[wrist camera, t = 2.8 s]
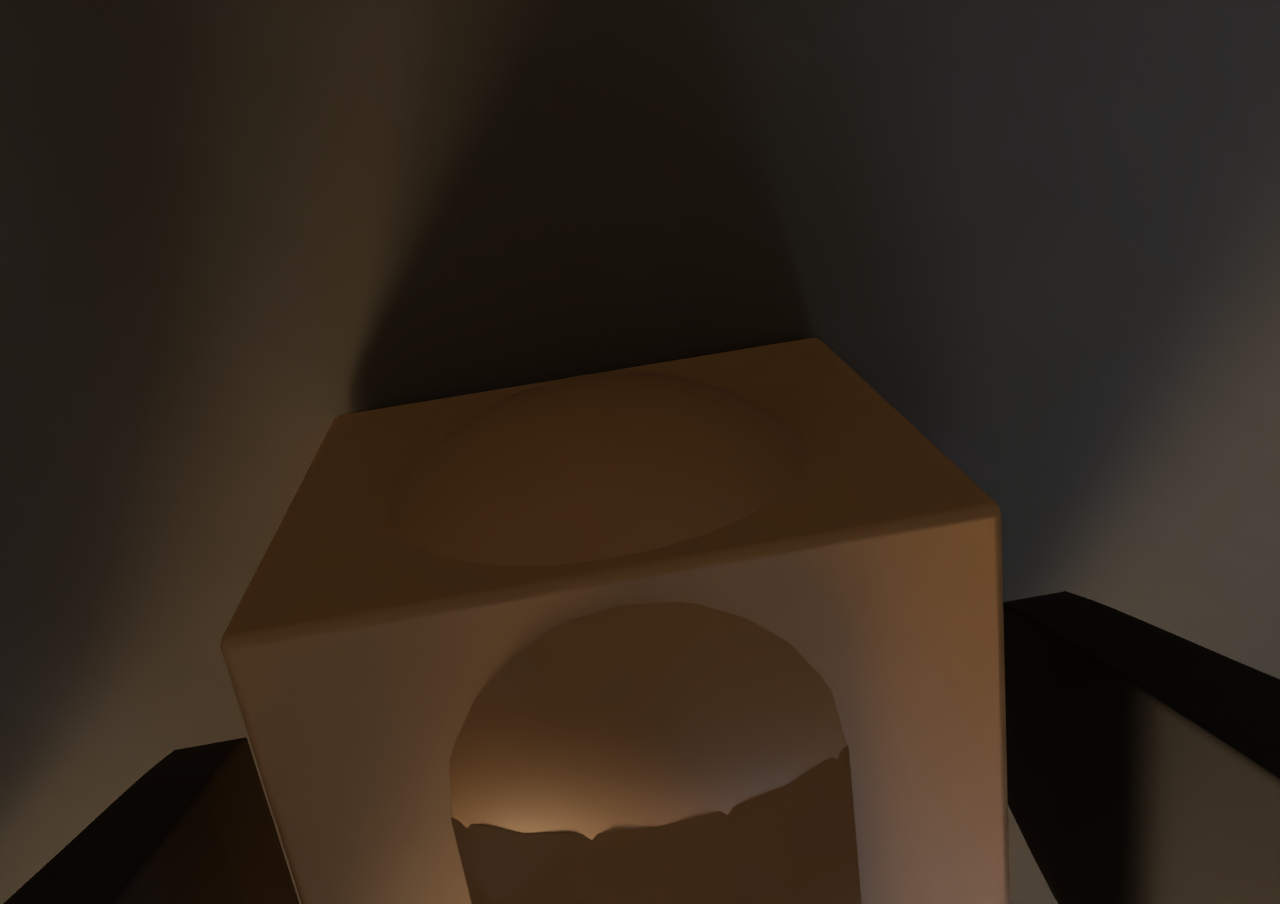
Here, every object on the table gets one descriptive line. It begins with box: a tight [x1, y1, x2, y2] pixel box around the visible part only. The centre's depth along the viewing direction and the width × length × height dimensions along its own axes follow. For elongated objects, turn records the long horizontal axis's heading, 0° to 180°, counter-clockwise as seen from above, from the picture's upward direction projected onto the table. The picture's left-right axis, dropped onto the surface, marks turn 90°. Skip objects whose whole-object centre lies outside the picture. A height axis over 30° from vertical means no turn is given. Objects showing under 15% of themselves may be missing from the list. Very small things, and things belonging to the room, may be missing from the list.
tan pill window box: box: [221, 338, 1010, 904], centre depth 9 cm, size 8×4×4 cm, turn 8°
